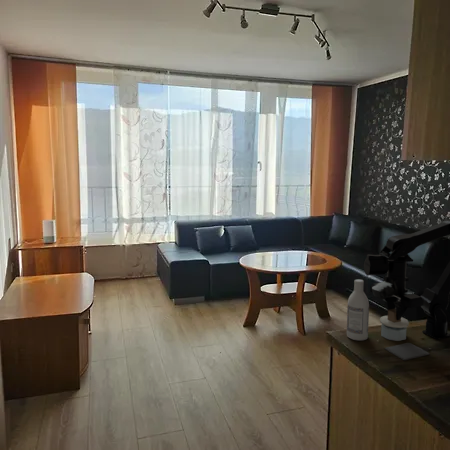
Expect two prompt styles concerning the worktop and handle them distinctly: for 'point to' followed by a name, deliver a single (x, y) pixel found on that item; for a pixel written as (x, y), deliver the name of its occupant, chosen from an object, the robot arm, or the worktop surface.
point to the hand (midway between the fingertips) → (394, 318)
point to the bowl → (393, 333)
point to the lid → (393, 320)
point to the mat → (406, 351)
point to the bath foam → (358, 313)
